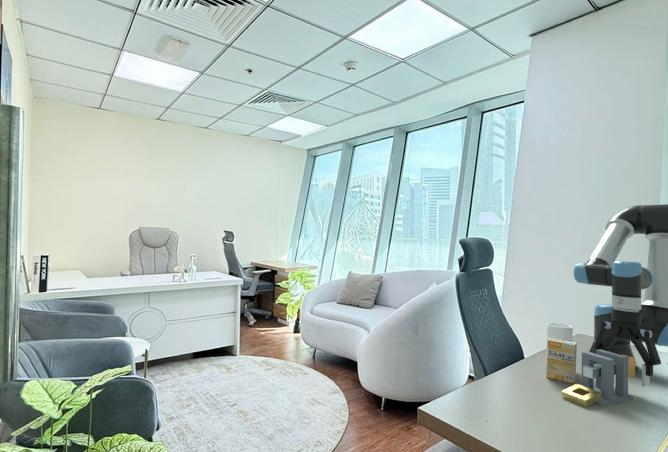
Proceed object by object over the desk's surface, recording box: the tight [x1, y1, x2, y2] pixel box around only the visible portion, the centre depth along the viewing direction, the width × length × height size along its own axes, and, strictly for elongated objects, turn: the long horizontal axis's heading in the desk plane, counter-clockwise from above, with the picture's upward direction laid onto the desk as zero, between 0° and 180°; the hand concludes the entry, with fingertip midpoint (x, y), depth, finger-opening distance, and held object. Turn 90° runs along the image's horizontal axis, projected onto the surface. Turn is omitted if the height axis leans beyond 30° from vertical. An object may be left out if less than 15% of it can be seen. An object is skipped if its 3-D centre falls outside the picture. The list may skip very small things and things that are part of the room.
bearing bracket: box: [579, 350, 635, 408], centre depth 115 cm, size 15×10×13 cm, turn 113°
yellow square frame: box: [561, 383, 601, 408], centre depth 111 cm, size 2×7×7 cm
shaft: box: [583, 355, 636, 380], centre depth 117 cm, size 20×3×6 cm, turn 113°
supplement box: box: [545, 338, 578, 385], centre depth 129 cm, size 8×5×13 cm, turn 50°
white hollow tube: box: [545, 322, 574, 368], centre depth 140 cm, size 8×8×16 cm
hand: (625, 379), depth 120 cm, fingers open, 10 cm apart
